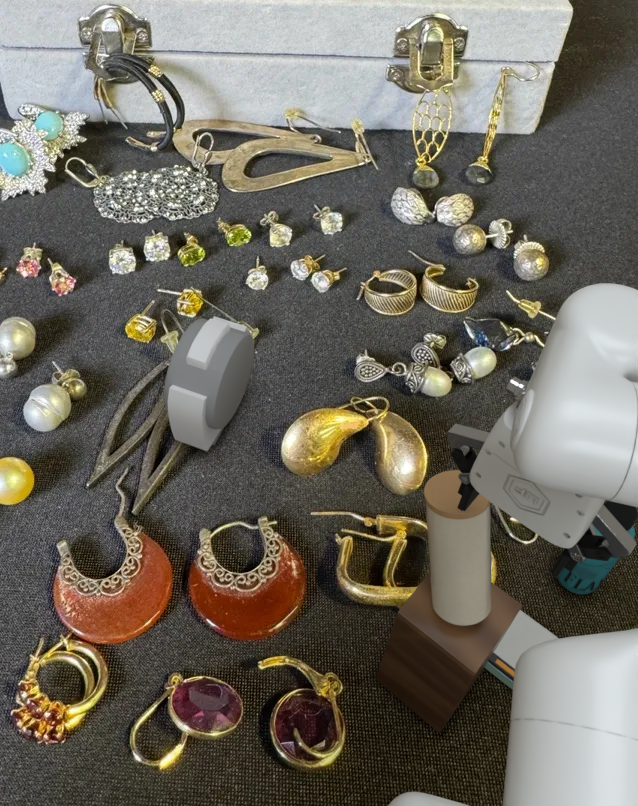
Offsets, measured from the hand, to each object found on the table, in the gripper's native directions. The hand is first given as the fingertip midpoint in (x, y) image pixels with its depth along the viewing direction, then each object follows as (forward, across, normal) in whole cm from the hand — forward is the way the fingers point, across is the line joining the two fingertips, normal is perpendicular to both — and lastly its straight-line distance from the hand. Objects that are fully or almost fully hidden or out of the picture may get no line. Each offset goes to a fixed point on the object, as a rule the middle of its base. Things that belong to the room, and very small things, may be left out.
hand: (513, 531), depth 74 cm
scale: (+42, +6, +11) cm, 43 cm away
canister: (+19, -2, 0) cm, 19 cm away
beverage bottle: (+42, +6, +26) cm, 49 cm away
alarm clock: (+42, -52, +11) cm, 67 cm away
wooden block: (+42, -2, 0) cm, 42 cm away
